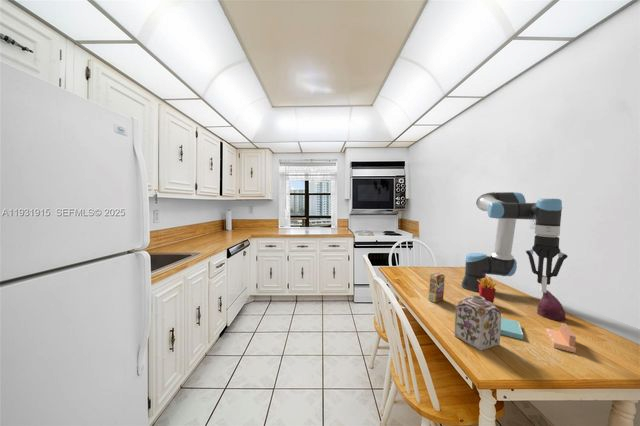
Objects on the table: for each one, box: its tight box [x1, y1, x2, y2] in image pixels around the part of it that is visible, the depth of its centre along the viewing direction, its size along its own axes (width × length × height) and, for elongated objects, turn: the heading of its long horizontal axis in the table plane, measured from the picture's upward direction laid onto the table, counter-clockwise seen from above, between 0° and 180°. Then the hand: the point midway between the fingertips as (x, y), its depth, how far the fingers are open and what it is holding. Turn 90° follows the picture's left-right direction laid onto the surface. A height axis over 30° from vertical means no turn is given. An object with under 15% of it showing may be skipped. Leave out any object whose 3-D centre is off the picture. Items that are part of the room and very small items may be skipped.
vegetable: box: [536, 289, 566, 322], centre depth 121 cm, size 10×10×15 cm
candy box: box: [428, 272, 446, 303], centre depth 139 cm, size 9×4×15 cm, turn 123°
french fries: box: [477, 276, 497, 304], centre depth 136 cm, size 9×8×15 cm
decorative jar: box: [453, 295, 502, 352], centre depth 98 cm, size 12×12×18 cm
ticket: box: [500, 317, 524, 341], centre depth 108 cm, size 14×12×2 cm
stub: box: [545, 322, 577, 354], centre depth 98 cm, size 14×6×6 cm, turn 146°
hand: (543, 291), depth 101 cm, fingers closed
